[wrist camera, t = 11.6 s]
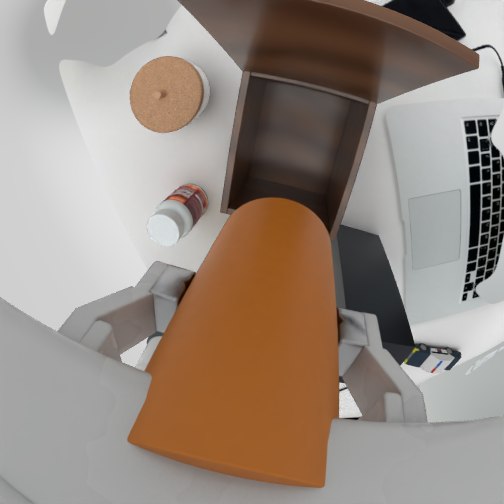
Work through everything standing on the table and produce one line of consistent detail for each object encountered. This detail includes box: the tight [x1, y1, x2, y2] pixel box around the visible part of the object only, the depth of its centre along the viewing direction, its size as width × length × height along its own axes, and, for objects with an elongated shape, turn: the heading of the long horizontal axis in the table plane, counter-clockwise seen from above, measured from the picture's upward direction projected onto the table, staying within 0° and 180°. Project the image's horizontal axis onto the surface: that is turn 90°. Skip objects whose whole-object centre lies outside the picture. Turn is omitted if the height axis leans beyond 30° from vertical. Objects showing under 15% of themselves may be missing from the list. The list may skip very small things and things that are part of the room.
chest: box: [220, 71, 377, 240], centre depth 34 cm, size 17×14×13 cm
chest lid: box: [178, 0, 479, 104], centre depth 15 cm, size 18×14×1 cm
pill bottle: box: [147, 184, 208, 247], centre depth 43 cm, size 6×6×11 cm
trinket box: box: [130, 56, 210, 133], centre depth 34 cm, size 11×11×9 cm
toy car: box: [404, 344, 461, 373], centre depth 55 cm, size 5×16×5 cm, turn 80°
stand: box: [330, 225, 415, 383], centre depth 37 cm, size 8×8×24 cm
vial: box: [127, 197, 339, 488], centre depth 9 cm, size 5×5×10 cm
